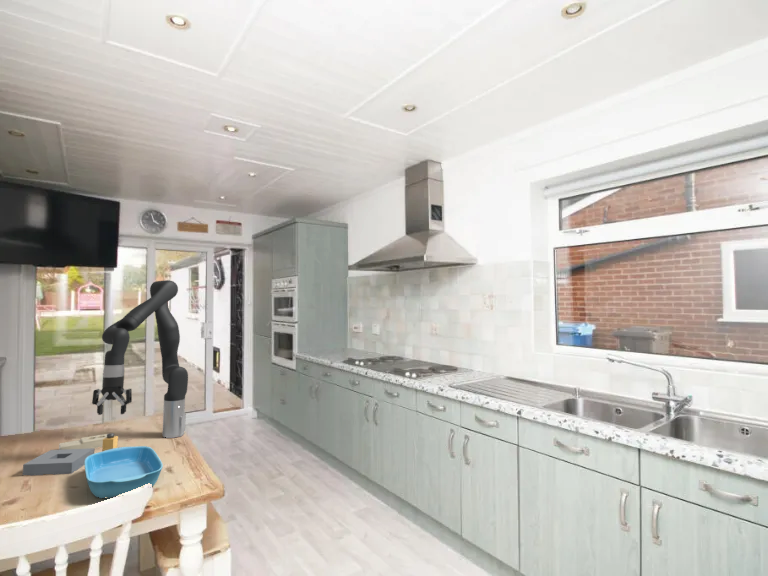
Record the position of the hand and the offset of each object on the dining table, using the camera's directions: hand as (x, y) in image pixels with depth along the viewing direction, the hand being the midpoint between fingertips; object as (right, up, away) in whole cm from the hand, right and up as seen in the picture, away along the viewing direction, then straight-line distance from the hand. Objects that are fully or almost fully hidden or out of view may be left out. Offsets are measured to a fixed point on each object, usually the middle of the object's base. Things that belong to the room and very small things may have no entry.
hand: (111, 414), depth 175 cm
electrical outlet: (-16, -17, +7) cm, 25 cm away
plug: (0, -17, -1) cm, 17 cm away
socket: (-10, -16, -15) cm, 24 cm away
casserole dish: (+21, -16, -27) cm, 38 cm away
